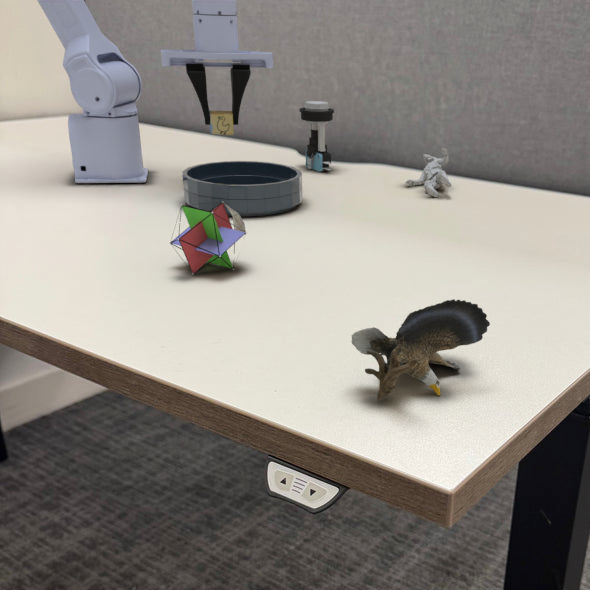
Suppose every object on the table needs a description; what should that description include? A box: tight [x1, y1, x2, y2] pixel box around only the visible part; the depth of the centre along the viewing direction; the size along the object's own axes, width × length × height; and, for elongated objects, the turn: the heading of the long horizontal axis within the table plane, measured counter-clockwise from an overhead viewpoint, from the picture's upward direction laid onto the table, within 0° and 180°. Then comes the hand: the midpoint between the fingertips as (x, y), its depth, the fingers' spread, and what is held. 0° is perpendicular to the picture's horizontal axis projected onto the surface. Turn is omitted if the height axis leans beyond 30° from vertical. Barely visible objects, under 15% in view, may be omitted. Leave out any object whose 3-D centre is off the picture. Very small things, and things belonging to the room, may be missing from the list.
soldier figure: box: [404, 147, 452, 198], centre depth 116 cm, size 8×5×12 cm
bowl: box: [181, 160, 303, 218], centre depth 103 cm, size 15×15×4 cm
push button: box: [298, 100, 335, 173], centre depth 123 cm, size 7×5×10 cm
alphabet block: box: [209, 109, 235, 136], centre depth 109 cm, size 3×3×3 cm
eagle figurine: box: [351, 299, 491, 402], centre depth 57 cm, size 8×7×9 cm
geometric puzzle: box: [169, 202, 248, 275], centre depth 79 cm, size 7×7×8 cm
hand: (221, 123), depth 109 cm, fingers closed on alphabet block, 3 cm apart
